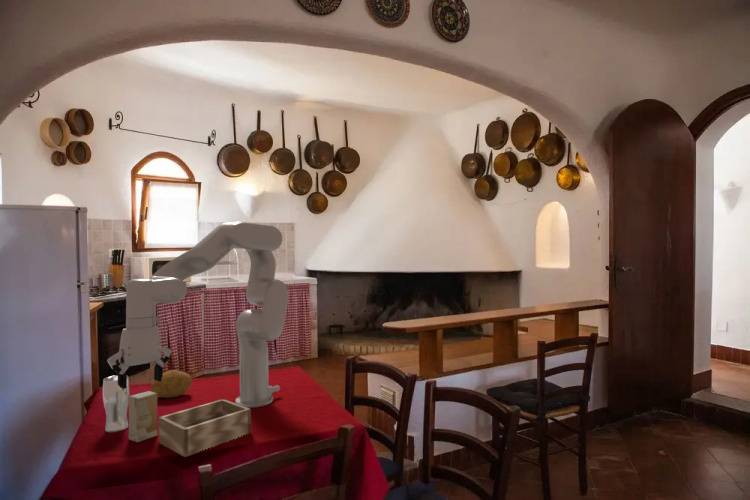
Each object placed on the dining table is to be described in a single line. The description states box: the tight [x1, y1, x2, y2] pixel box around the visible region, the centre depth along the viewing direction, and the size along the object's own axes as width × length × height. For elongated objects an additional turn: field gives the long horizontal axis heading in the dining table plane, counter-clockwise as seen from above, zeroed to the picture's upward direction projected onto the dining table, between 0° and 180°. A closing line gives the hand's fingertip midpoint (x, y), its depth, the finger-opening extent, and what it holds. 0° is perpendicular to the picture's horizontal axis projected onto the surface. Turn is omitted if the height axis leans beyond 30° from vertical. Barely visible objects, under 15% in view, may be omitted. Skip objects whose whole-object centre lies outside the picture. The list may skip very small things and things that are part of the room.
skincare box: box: [128, 390, 158, 443], centre depth 137 cm, size 6×4×12 cm
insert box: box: [158, 398, 252, 458], centre depth 136 cm, size 20×14×7 cm
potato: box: [150, 369, 193, 399], centre depth 173 cm, size 10×13×9 cm
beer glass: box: [102, 374, 130, 433], centre depth 144 cm, size 7×7×15 cm
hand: (140, 384), depth 136 cm, fingers open, 9 cm apart
